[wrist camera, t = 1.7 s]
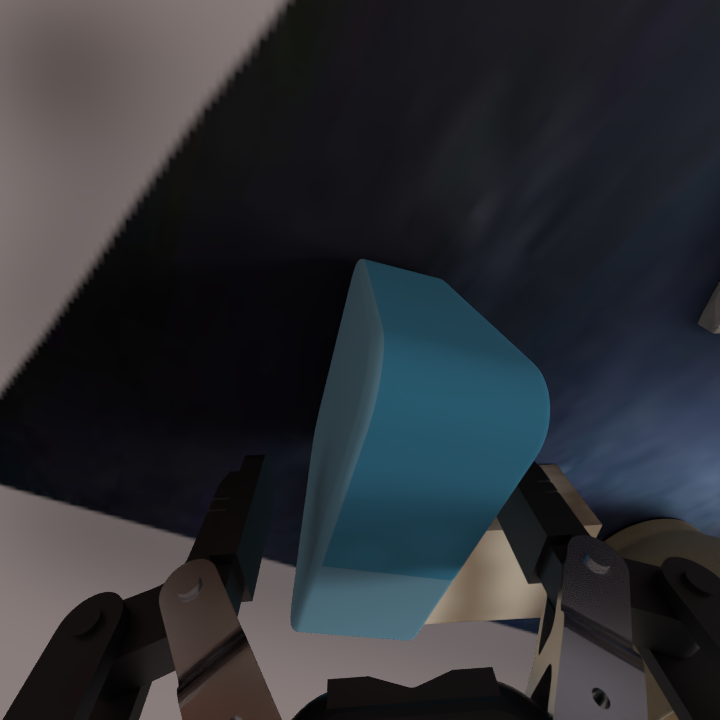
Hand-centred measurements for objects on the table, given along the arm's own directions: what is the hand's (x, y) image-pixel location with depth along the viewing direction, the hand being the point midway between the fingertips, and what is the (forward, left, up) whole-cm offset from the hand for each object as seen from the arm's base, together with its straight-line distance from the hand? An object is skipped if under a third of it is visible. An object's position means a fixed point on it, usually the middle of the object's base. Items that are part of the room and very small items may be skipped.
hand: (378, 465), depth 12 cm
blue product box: (0, 0, -9) cm, 9 cm away
